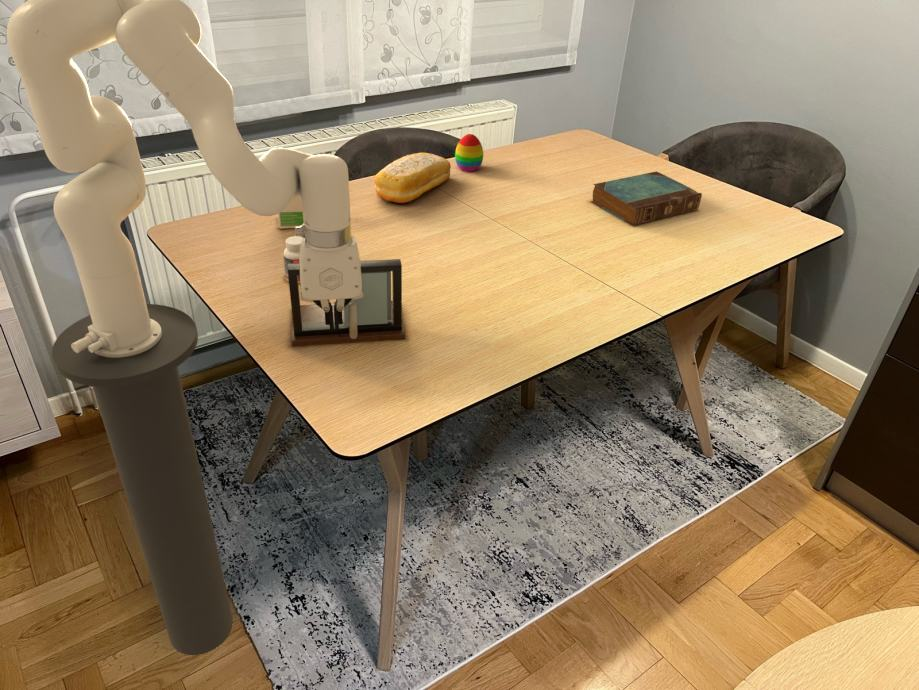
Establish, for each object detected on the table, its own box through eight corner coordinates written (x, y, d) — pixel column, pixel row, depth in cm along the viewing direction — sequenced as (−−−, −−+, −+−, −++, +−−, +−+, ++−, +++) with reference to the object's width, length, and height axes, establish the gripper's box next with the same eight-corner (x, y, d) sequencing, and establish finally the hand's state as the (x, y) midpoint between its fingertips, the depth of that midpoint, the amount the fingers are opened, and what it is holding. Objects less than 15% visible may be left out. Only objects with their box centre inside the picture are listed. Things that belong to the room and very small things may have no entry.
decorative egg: (461, 161, 217) (462, 128, 212) (486, 166, 215) (488, 132, 209) (450, 170, 211) (451, 136, 205) (476, 175, 208) (478, 141, 203)
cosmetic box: (278, 229, 174) (271, 166, 165) (278, 217, 179) (272, 156, 171) (314, 227, 176) (309, 165, 167) (313, 216, 181) (308, 155, 172)
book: (633, 226, 184) (637, 208, 181) (589, 201, 196) (592, 183, 194) (698, 211, 194) (702, 193, 191) (652, 187, 206) (655, 170, 204)
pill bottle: (293, 286, 152) (290, 248, 147) (281, 276, 155) (277, 239, 150) (315, 279, 155) (312, 241, 150) (302, 269, 158) (299, 232, 153)
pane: (390, 342, 132) (390, 289, 126) (346, 344, 131) (343, 291, 125) (387, 321, 138) (386, 270, 132) (344, 323, 136) (341, 272, 130)
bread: (365, 200, 191) (364, 171, 186) (414, 169, 210) (414, 141, 206) (409, 211, 186) (410, 181, 181) (456, 178, 206) (457, 150, 201)
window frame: (405, 339, 138) (405, 268, 129) (292, 346, 134) (284, 273, 126) (398, 305, 148) (398, 237, 139) (292, 310, 145) (286, 241, 136)
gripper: (280, 245, 114) (291, 341, 125) (375, 241, 117) (378, 336, 127) (281, 224, 120) (291, 318, 131) (372, 221, 123) (375, 313, 133)
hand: (334, 326), depth 129 cm, fingers closed
